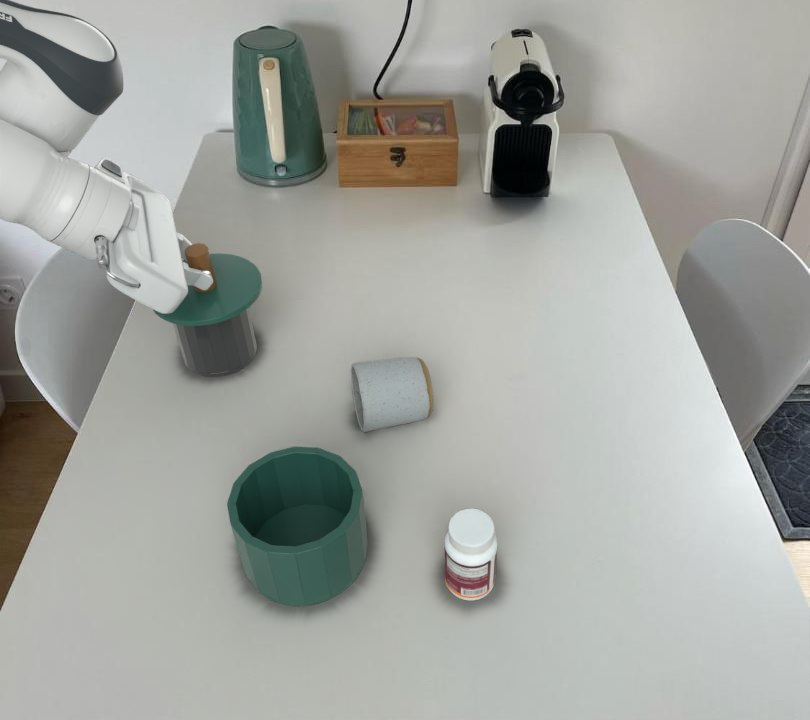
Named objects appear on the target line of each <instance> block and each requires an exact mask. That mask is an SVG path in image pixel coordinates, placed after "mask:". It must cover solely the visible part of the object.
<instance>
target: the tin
mask: <svg viewBox="0 0 810 720" xmlns="http://www.w3.org/2000/svg"><path fill="white" fill-rule="evenodd" d="M227 499H228V500H227V501H226V507H227V512H228V518H229V524H230V527H231V531H232V533H233V537H234V540H235V544H236V547H237V551H238V554H239V557H240V561H241V564H242V567H243V571H244V574H245V576H246V578H247V579H248V581H249V582H250V584H251V585H252V587H253V588H254V589H255V590H256V591H257V592H258V593H259V594H261V595H262V597H265V598H266V599H268V600H269V601H272V602H274V603H277V604H280V605H283V606H284V605H285V606H291V607H306V606H313V605H318V604H321V603H323V602H327V601H329V600H331V599H333V598H335V597H337V596H339V595H340V594H341V593H343V592H344V591H345V590H347V589H348V588H349V587H350V586H351V585H352V584H353V583H354V582H355V581H356V579H357V578H358V577H359V576H360V573H361V572H362V570H363V568H364V566H365V562H366V559H367V556H368V555H367V553H368V543H369V537H368V530H367V521H366V512H365V503H364V502H365V501H364V493H363V488H362V485H361V482H360V479H359V476H358V473H357V471H356V469H354V467H353V466H351V465H350V464H349V463H348V462H347V461H346V460H345V459H344V458H343V457H342V456H341V455H339V454H336V453H334V452H331V451H329V450H326V449H323V448H321V447H313V446H312V447H311V446H291V447H287V448H283V449H279V450H275V451H274V450H273V451H270V452H269V453H267V454H265V455H264V456H262V457H260V458H259V459H257V460H255V461H254V462H252V463H250V464H249V465H248V466H247V467H246V468H244V470H243V471H242V472H241V474H240V475H239V476H238V477H237V478H236V480H235V481H234V482H233V484H232V487H231V490H230V493H229V496H228V498H227Z"/></svg>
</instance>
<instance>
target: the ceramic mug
mask: <svg viewBox="0 0 810 720" xmlns="http://www.w3.org/2000/svg"><path fill="white" fill-rule="evenodd" d="M350 382H351V390H352V397H353V398H352V399H353V404H354V409H355V410H354V411H355V414H356V419H357V423H358V425H359V426H358V427H359V428H360V430H361V431H362V432H363V433H366V432H371V431H375V430H381V429H385V428H391V427H395V426H399V425H406V424H410V423H417V422H420V421H422V420H426V419H427V418H428V417H430V416H431V414H432V412H433V411H434V390H433V384H432V379H431V375H430V371H429V368H428V365H427V364H426V362H425V361H424V360H423V359H422V358H420V357H416V356H401V357H394V358H388V359H387V358H386V359H378V360H367V361H358V362H354V363H352V364H351V367H350Z"/></svg>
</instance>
